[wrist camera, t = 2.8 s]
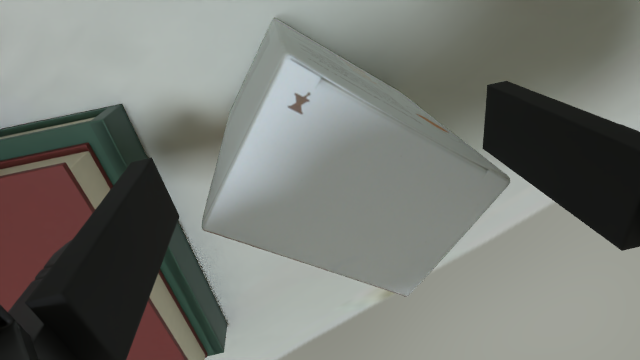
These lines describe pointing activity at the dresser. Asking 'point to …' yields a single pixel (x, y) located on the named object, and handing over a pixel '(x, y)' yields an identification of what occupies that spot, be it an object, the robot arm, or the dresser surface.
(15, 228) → the book stack
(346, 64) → the small box
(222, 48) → the dresser surface
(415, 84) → the dresser surface
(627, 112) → the dresser surface
